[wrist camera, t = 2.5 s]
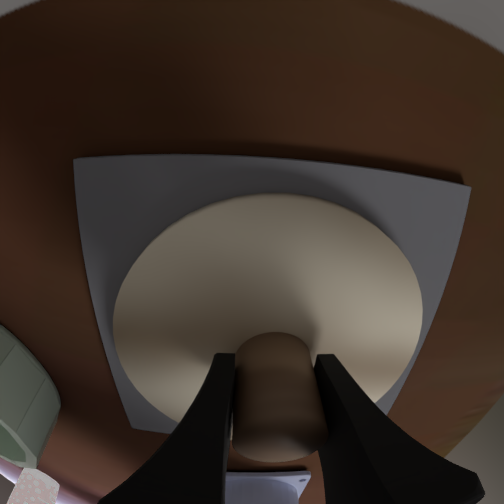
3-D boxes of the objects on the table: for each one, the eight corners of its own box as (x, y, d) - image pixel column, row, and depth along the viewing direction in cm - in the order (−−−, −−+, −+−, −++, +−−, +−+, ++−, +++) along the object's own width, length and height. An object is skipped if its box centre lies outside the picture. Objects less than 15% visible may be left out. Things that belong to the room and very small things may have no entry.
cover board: (368, 422, 14) (388, 487, 10) (145, 421, 14) (129, 490, 10) (447, 209, 10) (528, 261, 6) (99, 188, 9) (18, 239, 5)
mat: (375, 425, 15) (377, 430, 15) (133, 422, 15) (131, 428, 14) (465, 184, 10) (471, 187, 9) (78, 157, 9) (72, 159, 9)
